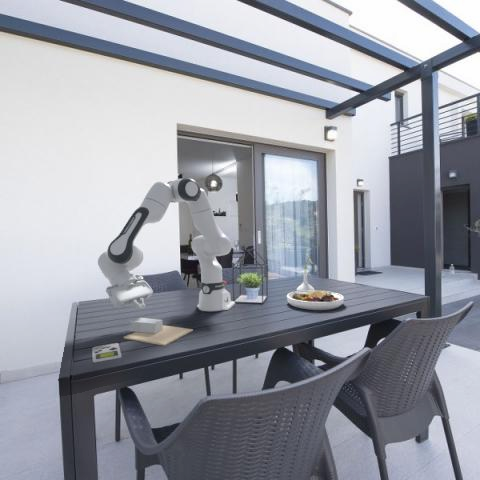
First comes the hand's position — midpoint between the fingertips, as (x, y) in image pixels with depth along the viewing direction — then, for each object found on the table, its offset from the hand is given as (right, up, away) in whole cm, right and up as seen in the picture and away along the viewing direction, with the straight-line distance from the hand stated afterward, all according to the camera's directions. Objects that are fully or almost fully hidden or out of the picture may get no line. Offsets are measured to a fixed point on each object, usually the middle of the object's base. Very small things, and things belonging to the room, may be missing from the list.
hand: (142, 308), depth 130 cm
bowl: (+81, -7, +42) cm, 91 cm away
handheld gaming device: (-6, -11, -21) cm, 24 cm away
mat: (+8, -10, -3) cm, 13 cm away
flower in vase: (+83, -6, +74) cm, 111 cm away
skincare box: (-4, -7, +2) cm, 9 cm away
